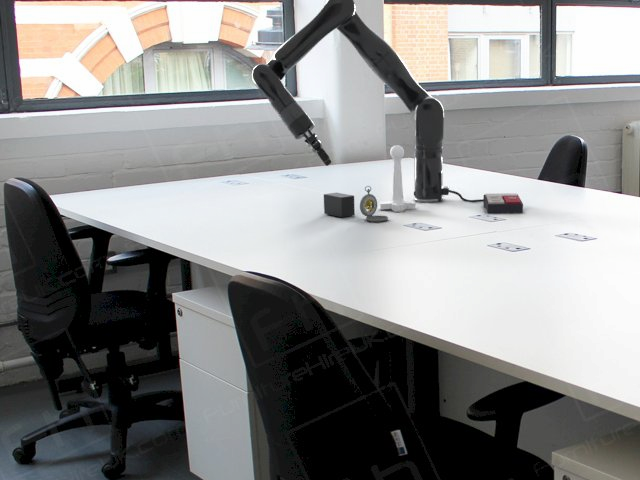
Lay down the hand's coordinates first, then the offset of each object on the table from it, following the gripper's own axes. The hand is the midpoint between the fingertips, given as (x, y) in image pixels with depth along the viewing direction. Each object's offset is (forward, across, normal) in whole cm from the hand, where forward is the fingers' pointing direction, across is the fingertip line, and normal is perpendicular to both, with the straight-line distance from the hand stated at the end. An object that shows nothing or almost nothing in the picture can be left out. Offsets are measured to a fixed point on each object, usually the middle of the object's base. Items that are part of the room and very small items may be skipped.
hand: (328, 162), depth 329 cm
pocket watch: (+24, -13, 0) cm, 28 cm away
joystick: (+25, +4, -8) cm, 27 cm away
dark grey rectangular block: (+16, -8, +4) cm, 18 cm away
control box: (+45, +2, -35) cm, 57 cm away
